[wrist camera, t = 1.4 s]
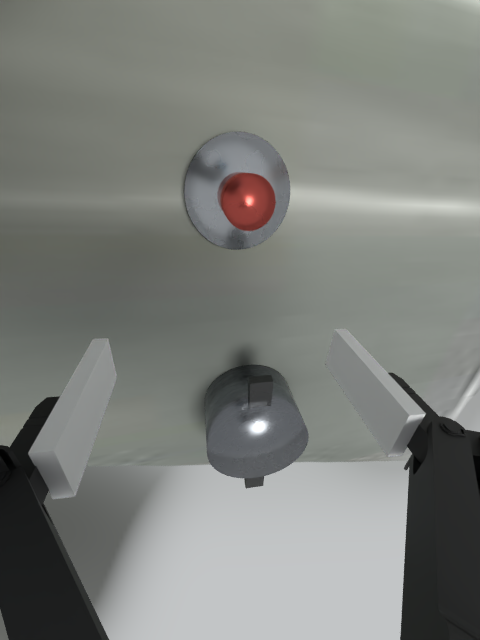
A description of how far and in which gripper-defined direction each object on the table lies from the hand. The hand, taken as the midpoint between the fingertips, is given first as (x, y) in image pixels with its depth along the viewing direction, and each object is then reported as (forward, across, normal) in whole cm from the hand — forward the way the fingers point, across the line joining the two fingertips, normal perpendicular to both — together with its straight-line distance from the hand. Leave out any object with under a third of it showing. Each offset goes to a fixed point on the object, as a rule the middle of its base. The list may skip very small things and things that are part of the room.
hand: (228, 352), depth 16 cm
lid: (+19, +3, +7) cm, 20 cm away
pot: (+18, +6, -24) cm, 30 cm away
